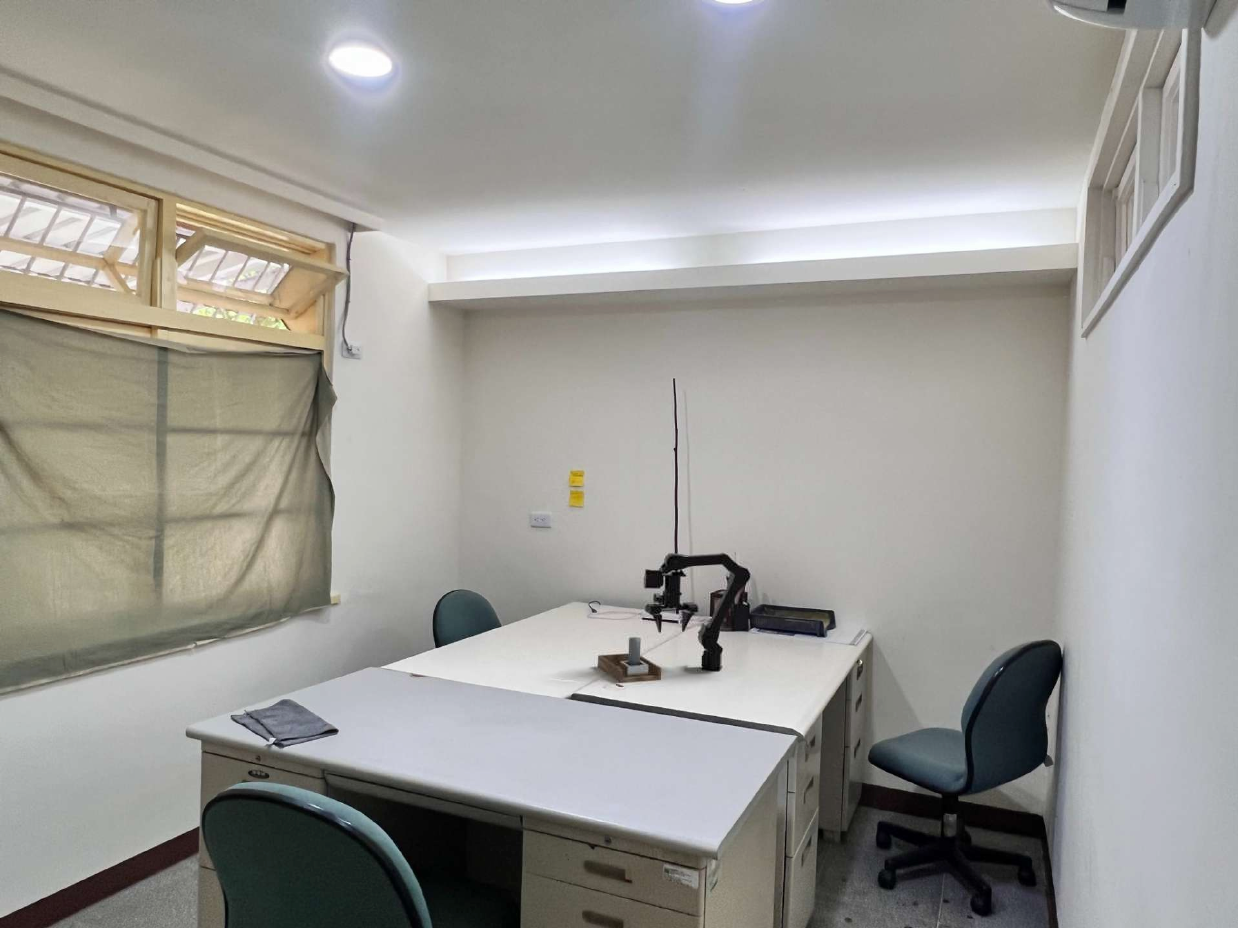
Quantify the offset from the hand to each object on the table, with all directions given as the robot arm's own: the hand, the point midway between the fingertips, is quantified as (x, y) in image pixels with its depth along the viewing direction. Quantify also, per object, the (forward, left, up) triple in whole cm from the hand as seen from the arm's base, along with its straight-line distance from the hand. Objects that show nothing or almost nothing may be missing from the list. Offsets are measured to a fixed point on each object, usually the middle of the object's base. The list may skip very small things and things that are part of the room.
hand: (671, 631), depth 298 cm
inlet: (+8, +18, -12) cm, 24 cm away
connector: (+8, +18, -12) cm, 24 cm away
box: (+11, +14, -13) cm, 22 cm away
